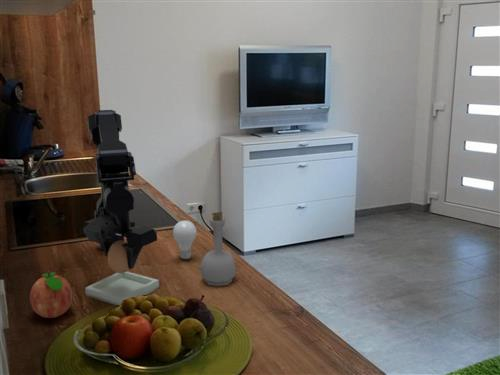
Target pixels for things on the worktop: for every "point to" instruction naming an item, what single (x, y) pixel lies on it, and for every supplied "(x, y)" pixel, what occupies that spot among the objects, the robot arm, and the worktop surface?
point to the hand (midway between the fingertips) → (121, 266)
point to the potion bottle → (218, 257)
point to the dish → (121, 287)
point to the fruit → (51, 295)
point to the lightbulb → (184, 237)
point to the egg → (118, 257)
